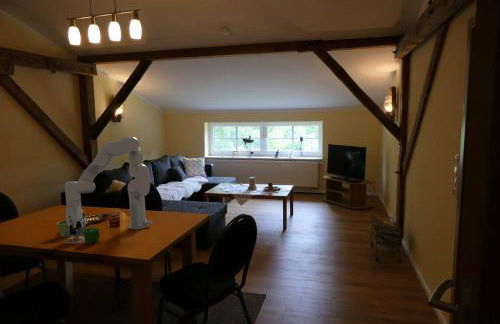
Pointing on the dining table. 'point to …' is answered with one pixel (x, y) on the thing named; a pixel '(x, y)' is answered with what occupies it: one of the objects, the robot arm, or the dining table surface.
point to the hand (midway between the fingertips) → (76, 232)
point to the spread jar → (83, 220)
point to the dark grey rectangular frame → (77, 231)
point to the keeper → (75, 240)
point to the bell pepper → (91, 235)
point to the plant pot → (63, 227)
